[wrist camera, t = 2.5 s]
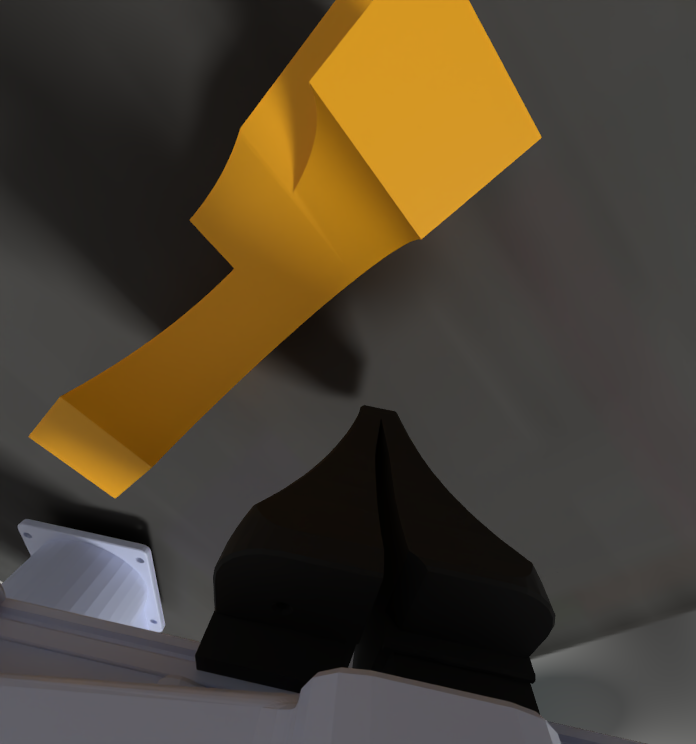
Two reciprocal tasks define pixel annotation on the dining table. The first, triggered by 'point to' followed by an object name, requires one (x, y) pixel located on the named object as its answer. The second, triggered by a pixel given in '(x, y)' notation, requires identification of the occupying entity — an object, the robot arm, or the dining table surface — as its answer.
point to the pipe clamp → (308, 212)
